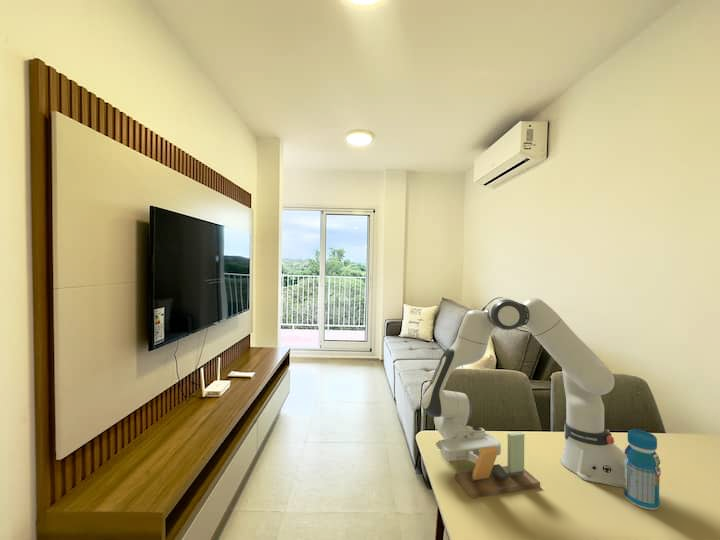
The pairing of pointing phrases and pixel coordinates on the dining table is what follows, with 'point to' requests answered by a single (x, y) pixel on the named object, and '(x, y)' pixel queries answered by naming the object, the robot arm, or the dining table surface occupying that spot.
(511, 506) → the dining table surface
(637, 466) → the beverage bottle
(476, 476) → the orange paddle lever
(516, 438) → the sage paddle lever
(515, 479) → the walnut switch board
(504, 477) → the dark gray rocker switch
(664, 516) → the dining table surface
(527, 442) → the dining table surface
